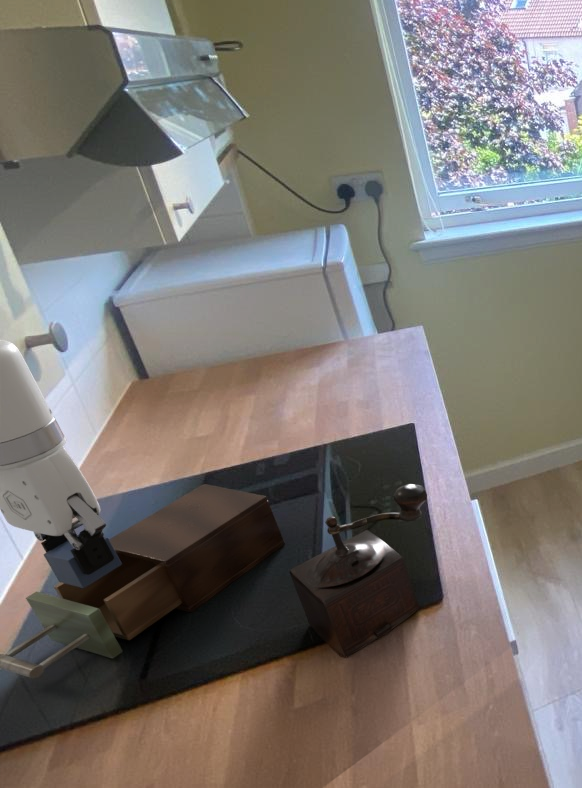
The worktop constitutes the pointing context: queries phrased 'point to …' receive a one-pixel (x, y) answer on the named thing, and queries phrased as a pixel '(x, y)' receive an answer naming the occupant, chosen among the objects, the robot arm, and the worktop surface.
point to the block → (76, 565)
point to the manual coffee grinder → (359, 581)
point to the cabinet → (204, 540)
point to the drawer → (98, 612)
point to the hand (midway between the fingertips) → (84, 562)
